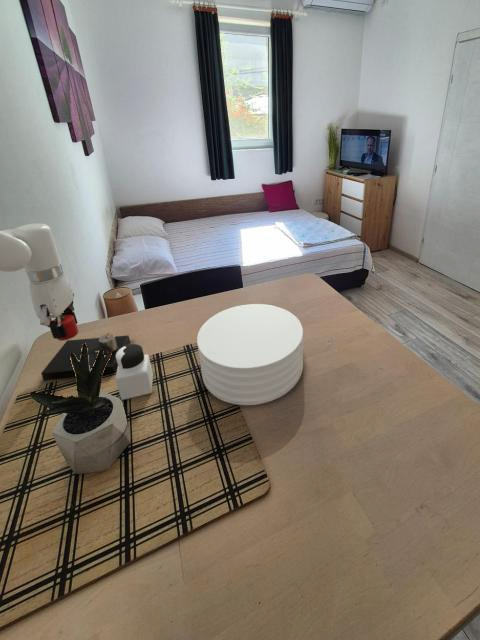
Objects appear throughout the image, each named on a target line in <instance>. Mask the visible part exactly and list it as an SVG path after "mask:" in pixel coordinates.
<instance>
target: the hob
mask: <svg viewBox="0 0 480 640" xmlns="http://www.w3.org/2000/svg"><path fill="white" fill-rule="evenodd" d="M114 336H115V340H116V344H117V347H118V349H117V351H116V352H115V353H113V354H112V355H111V357H110V360H109V361H108V363H107V365H106V367H105V370H104V373H103V375H113V374H115V372H117V369H118V363H117V360H116V353H117V352H118V351H119V350H120V349H121V348H122V347H124V346H127V345H130V344H131V339H130V335H128V334H127V335H117V336H116V335H114ZM99 338H100V337H91V338H80V339H79V338H78V339H68V340H65V343H64V344H63V345H62V346H61V348H60V349H59V350H58V351H57V352H56V354H55V355H54V356H53V358H52V359H51V360H50V361H49V362H48V363H47V365H46V366H45V368H44V369H43V370H42V371H41V373H40V374H41V377H42V379H43V381H51V380H62V379H73V378H76V377H75V372H74V370H73V367H72V364H71V360H70V353H74V354H75V355H76V357H77V359H78V360H80V355H81V348H82V344H83V343H86V345H87V348H88V355H89V365H90V369H91V368H92V366H93V364H94V362H95V360H96V357H97V354H98V351H99V350H100V349H101V347H100V343H99ZM103 375H102V376H103Z"/></svg>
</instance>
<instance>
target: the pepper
mask: <svg viewBox="0 0 480 640" xmlns="http://www.w3.org/2000/svg"><path fill="white" fill-rule="evenodd" d="M60 318H61V324H63V325H64V328H65V330H66V333H67V337H66V338H56V340H57V341H61V342H62V341H67V340H72V339H73V338H75V337H76V336H77V335H78V334H79V329H78V326H77V324H76V322H75V319H74V316H73V315H62V314H60ZM52 321H56V318H53V319H52Z"/></svg>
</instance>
